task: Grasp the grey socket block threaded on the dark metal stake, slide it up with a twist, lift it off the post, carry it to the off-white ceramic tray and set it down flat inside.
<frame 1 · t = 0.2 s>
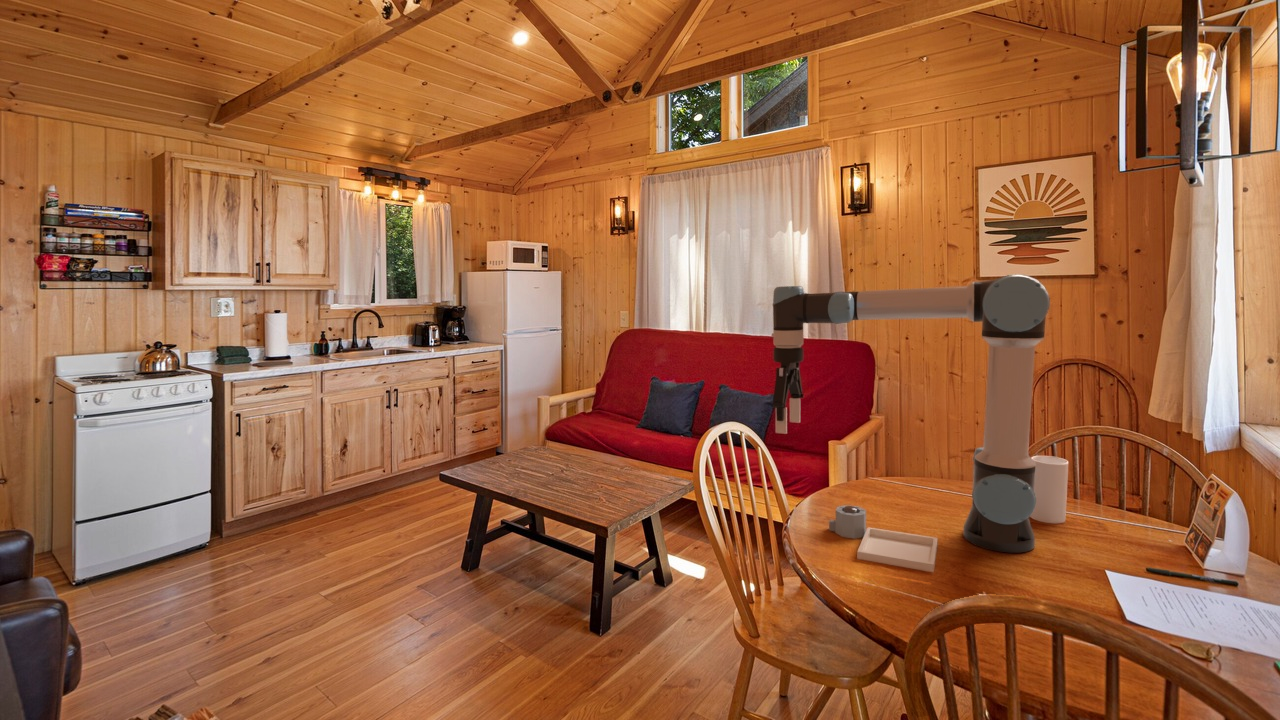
hand: (788, 427, 158), 27 cm above the table, fingers open, 13 cm apart
stake: (850, 534, 155), on the table
tray: (898, 553, 144), on the table
cup: (1046, 518, 163), on the table
grey socket block: (850, 532, 155), on the table, touching stake
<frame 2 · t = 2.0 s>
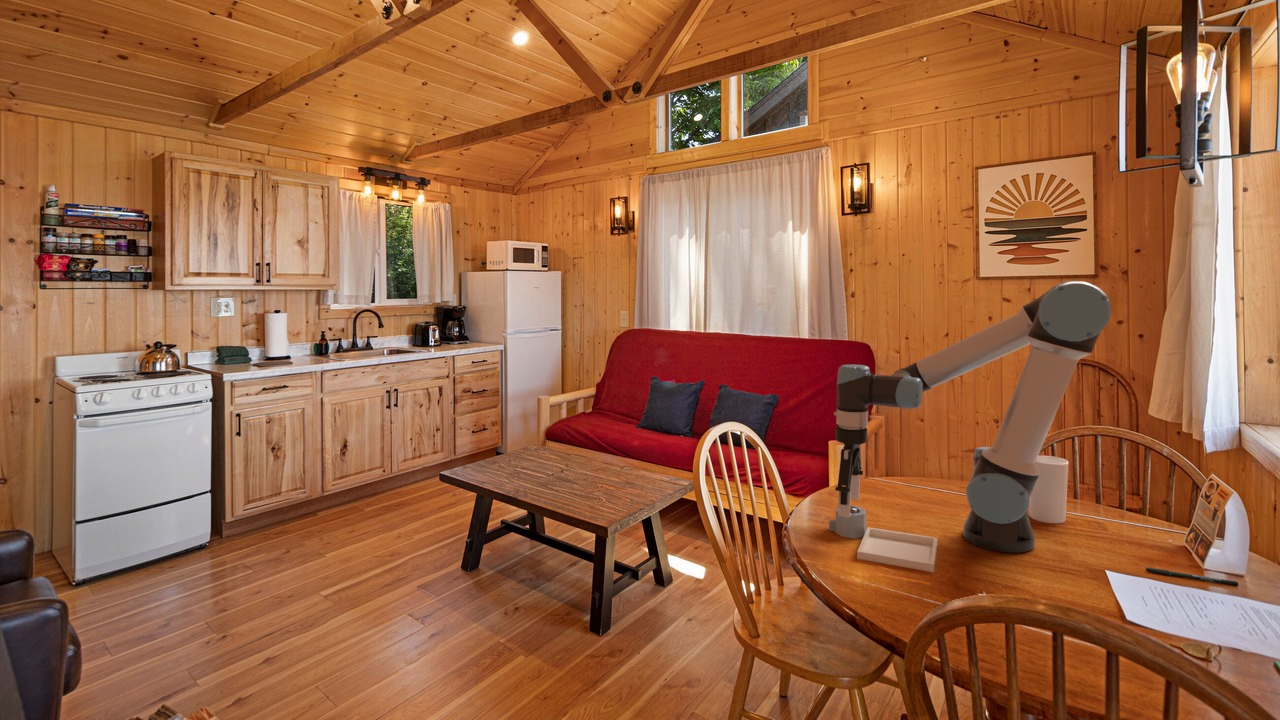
hand: (848, 507, 155), 7 cm above the table, fingers open, 13 cm apart
nothing on the table moved.
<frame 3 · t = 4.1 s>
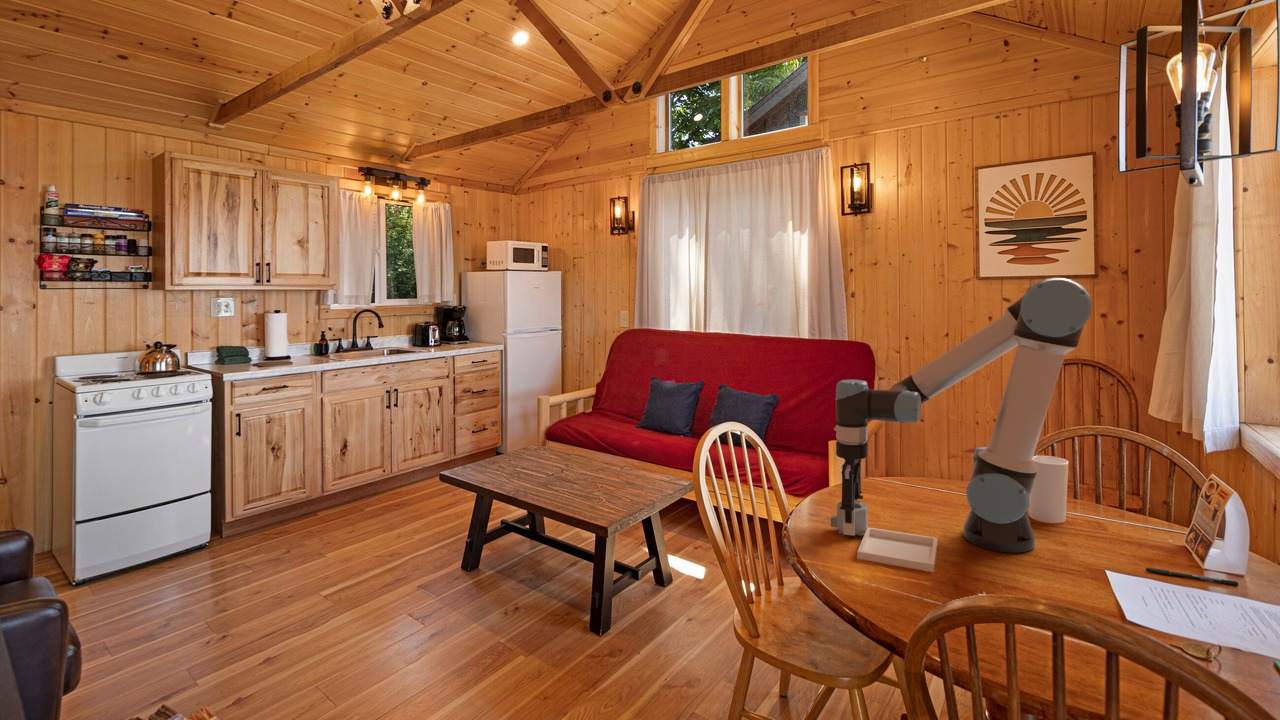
hand: (851, 528, 155), 2 cm above the table, fingers closed on grey socket block, 7 cm apart
grey socket block: (852, 528, 155), point 2 cm above the table, touching gripper
everything else where it was.
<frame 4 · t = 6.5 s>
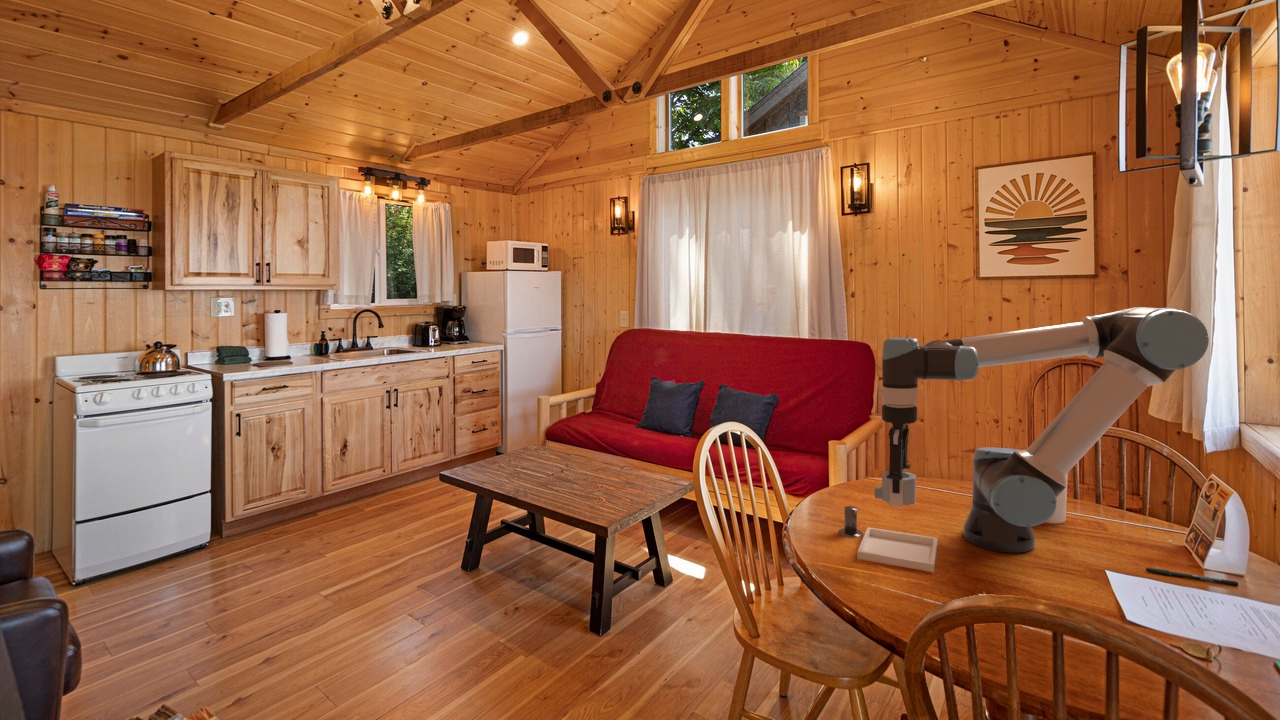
hand: (898, 500, 143), 13 cm above the table, fingers closed on grey socket block, 7 cm apart
grey socket block: (898, 499, 142), point 13 cm above the table, touching gripper
everything else where it was.
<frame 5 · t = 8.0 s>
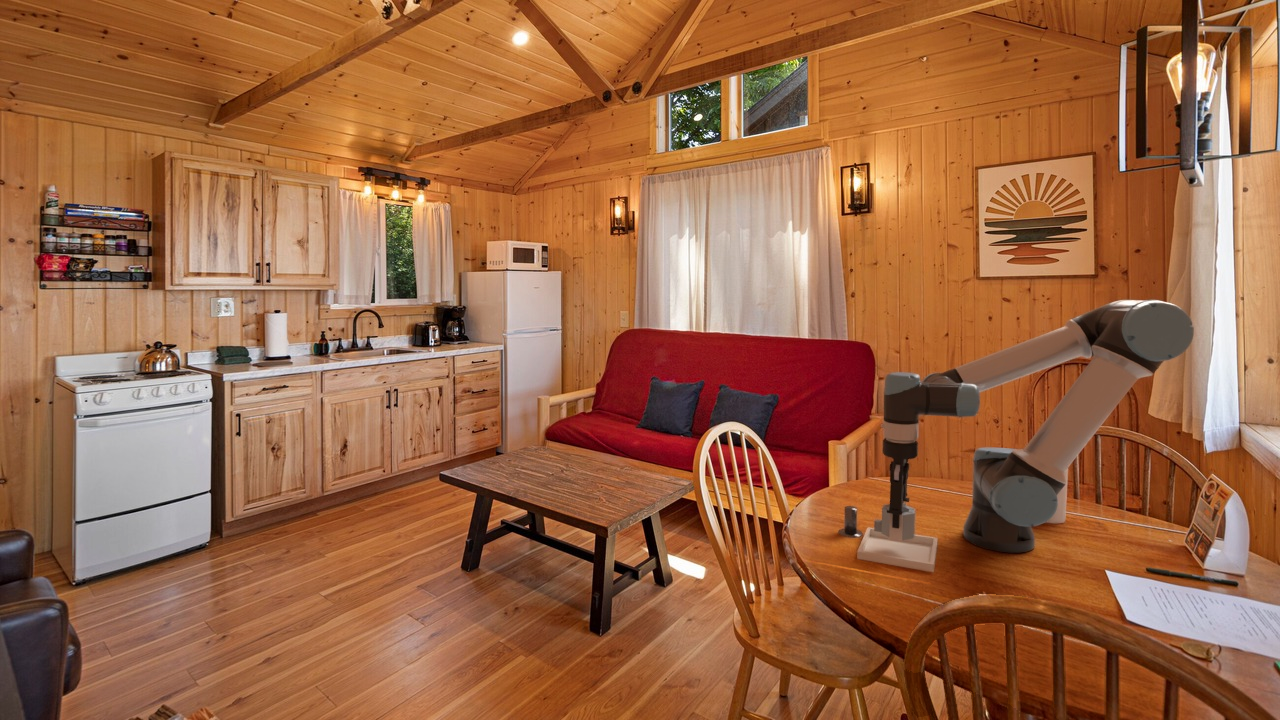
hand: (897, 533, 143), 5 cm above the table, fingers closed on grey socket block, 7 cm apart
grey socket block: (898, 533, 143), point 5 cm above the table, touching gripper
everything else where it was.
when the fingers open (2 cm above the table, at t = 9.0 s): grey socket block drops 1 cm, resting on tray.
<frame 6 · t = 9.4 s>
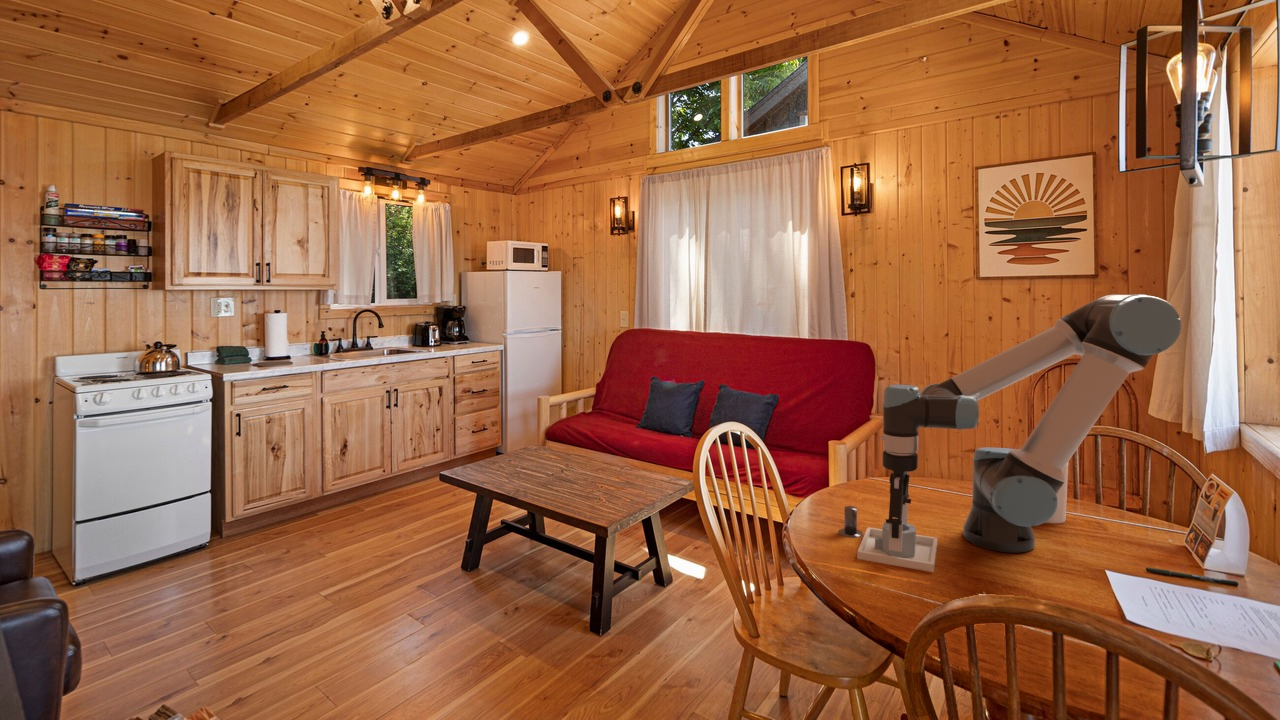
hand: (898, 539, 143), 3 cm above the table, fingers open, 13 cm apart
grey socket block: (898, 551, 144), resting on tray
everything else where it was.
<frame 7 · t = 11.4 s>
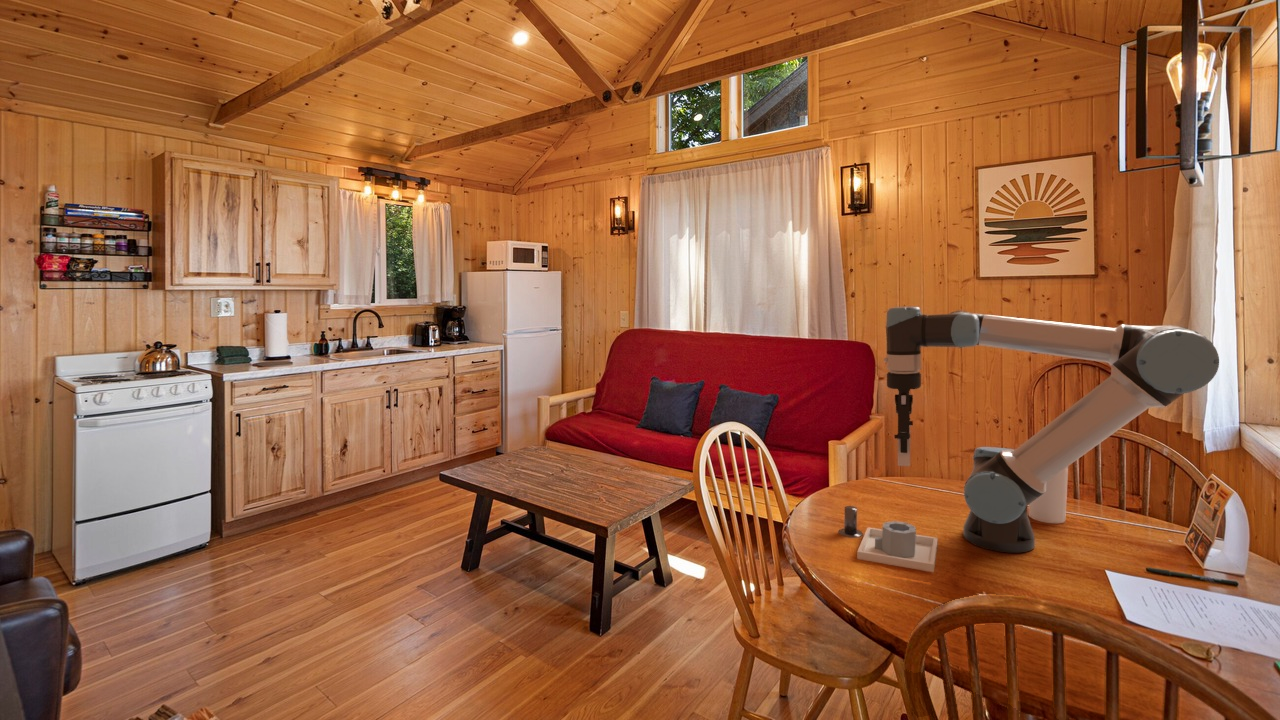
hand: (904, 458, 147), 21 cm above the table, fingers open, 13 cm apart
nothing on the table moved.
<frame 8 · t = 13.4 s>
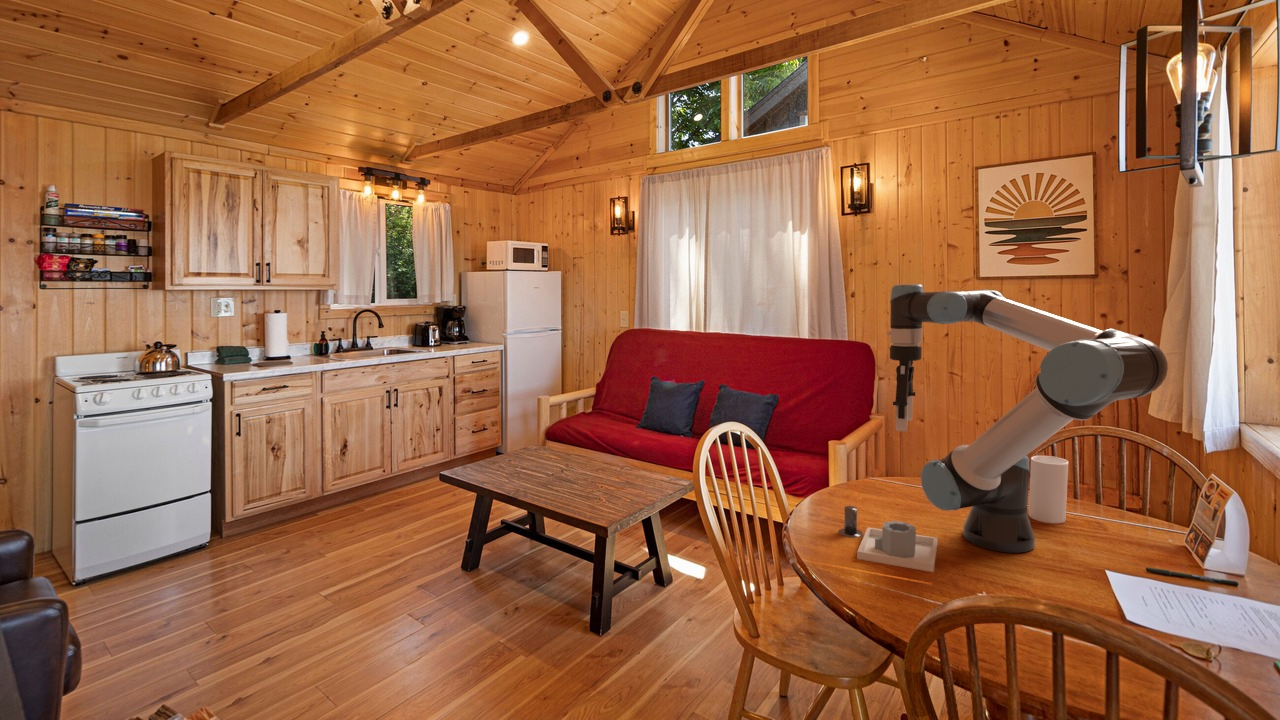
hand: (904, 425, 159), 27 cm above the table, fingers open, 13 cm apart
nothing on the table moved.
at the end: grey socket block inside the target area on the tray (0.1 cm from its centre), point 0.5 cm above the tray's base; grey socket block tilted 0°; the gripper is holding nothing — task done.
